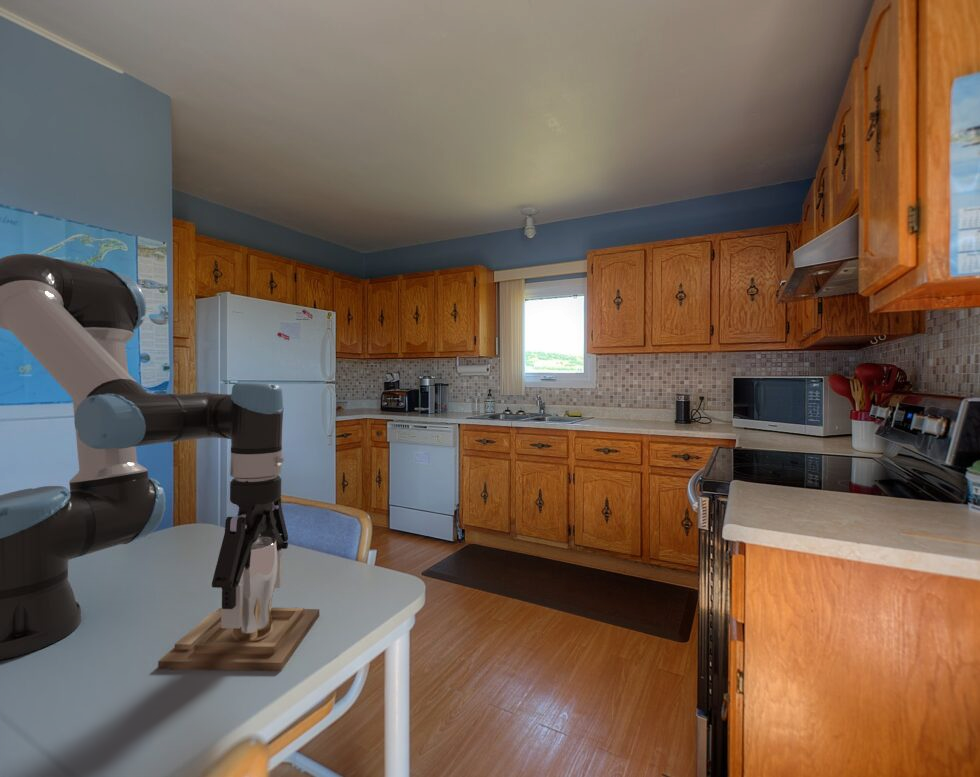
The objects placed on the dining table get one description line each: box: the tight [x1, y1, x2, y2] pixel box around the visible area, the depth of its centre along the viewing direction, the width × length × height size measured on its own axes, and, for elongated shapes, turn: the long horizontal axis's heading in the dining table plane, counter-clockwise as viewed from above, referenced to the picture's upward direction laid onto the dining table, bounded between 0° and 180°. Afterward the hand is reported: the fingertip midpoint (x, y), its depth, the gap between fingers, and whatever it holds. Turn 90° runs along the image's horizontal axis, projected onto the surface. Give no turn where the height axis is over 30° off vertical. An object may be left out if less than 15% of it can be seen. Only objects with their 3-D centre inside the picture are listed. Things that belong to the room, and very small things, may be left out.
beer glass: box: [232, 535, 277, 643], centre depth 75 cm, size 7×7×15 cm
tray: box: [157, 607, 320, 672], centre depth 76 cm, size 18×16×2 cm
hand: (254, 605), depth 76 cm, fingers open, 13 cm apart
